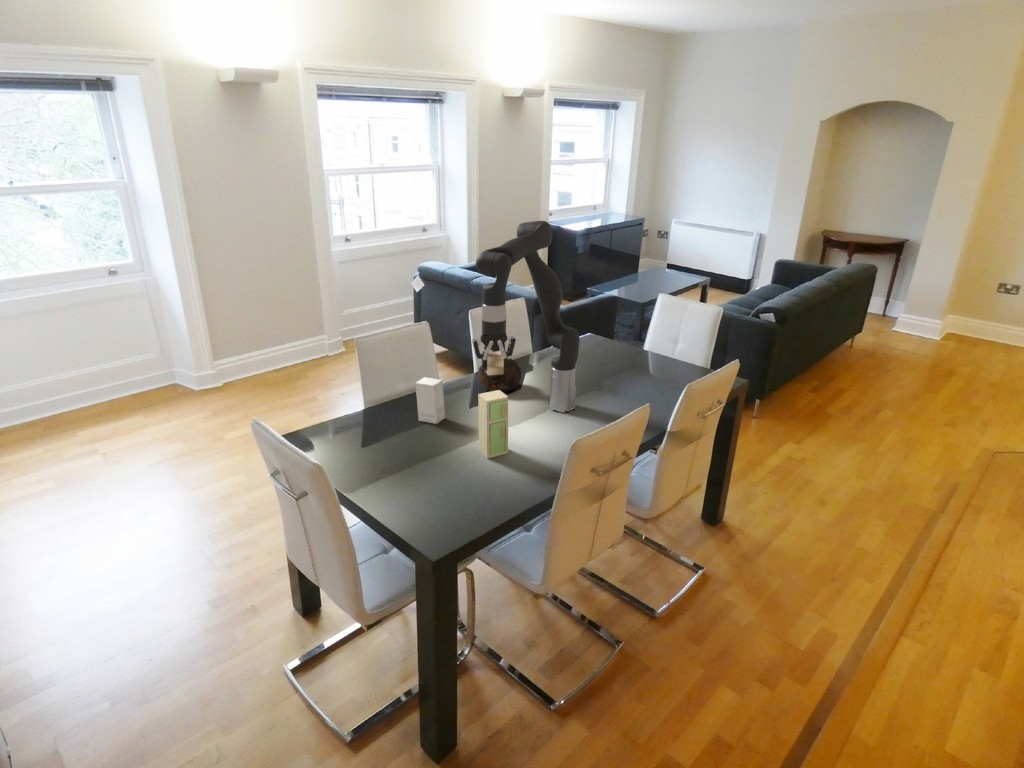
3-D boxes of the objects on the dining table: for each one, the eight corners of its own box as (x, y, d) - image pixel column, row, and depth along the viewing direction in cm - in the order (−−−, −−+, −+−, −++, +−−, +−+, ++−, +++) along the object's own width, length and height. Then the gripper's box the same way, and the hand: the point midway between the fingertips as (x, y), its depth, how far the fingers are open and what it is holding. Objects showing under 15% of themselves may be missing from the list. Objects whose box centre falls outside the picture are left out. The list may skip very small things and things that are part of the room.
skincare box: (445, 418, 234) (444, 379, 228) (436, 425, 228) (434, 385, 223) (426, 414, 237) (424, 376, 231) (416, 420, 232) (414, 382, 226)
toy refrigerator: (487, 460, 204) (487, 401, 196) (478, 450, 210) (477, 393, 202) (509, 455, 208) (509, 397, 200) (499, 445, 214) (499, 389, 206)
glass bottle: (529, 391, 260) (530, 326, 249) (493, 400, 250) (493, 333, 240) (505, 378, 273) (505, 316, 263) (470, 386, 264) (469, 322, 253)
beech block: (499, 368, 201) (499, 351, 199) (503, 374, 196) (503, 356, 194) (484, 369, 200) (484, 352, 197) (488, 375, 195) (488, 357, 193)
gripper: (513, 313, 196) (512, 363, 203) (468, 315, 193) (469, 367, 199) (519, 319, 190) (518, 371, 196) (473, 322, 186) (474, 375, 193)
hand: (493, 369), depth 198 cm, fingers closed on beech block, 5 cm apart
